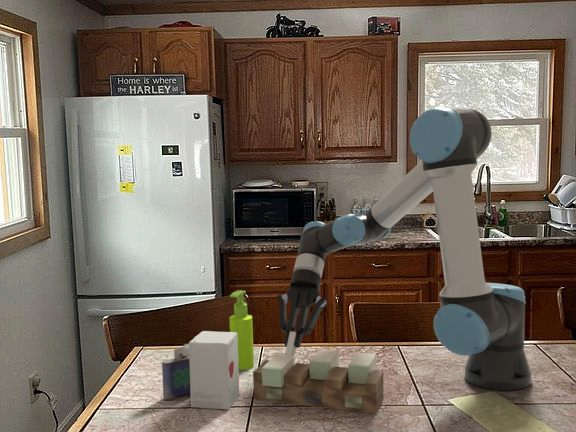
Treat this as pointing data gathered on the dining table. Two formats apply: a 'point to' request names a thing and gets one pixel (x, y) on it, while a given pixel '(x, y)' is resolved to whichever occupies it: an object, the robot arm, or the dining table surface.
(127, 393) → the dining table surface
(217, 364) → the supplement box
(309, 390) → the brown wooden slotted rack
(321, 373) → the button middle
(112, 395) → the dining table surface
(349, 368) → the button
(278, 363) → the button
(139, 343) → the dining table surface
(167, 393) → the flask
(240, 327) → the soap dispenser
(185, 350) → the bunny figurine
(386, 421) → the dining table surface
